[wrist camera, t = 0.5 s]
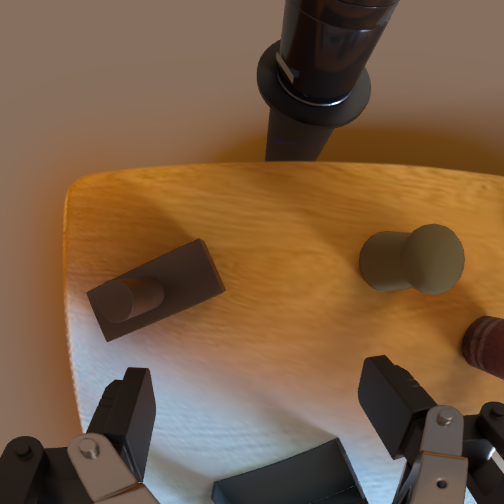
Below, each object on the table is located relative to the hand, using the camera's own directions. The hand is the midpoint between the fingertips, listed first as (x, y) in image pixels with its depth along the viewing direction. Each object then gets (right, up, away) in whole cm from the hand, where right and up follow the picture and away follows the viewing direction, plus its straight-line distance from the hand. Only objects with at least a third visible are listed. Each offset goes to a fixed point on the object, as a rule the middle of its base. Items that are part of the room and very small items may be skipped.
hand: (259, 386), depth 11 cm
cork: (+13, +4, +20) cm, 24 cm away
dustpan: (+6, -27, +18) cm, 33 cm away
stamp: (-9, +1, +20) cm, 22 cm away
